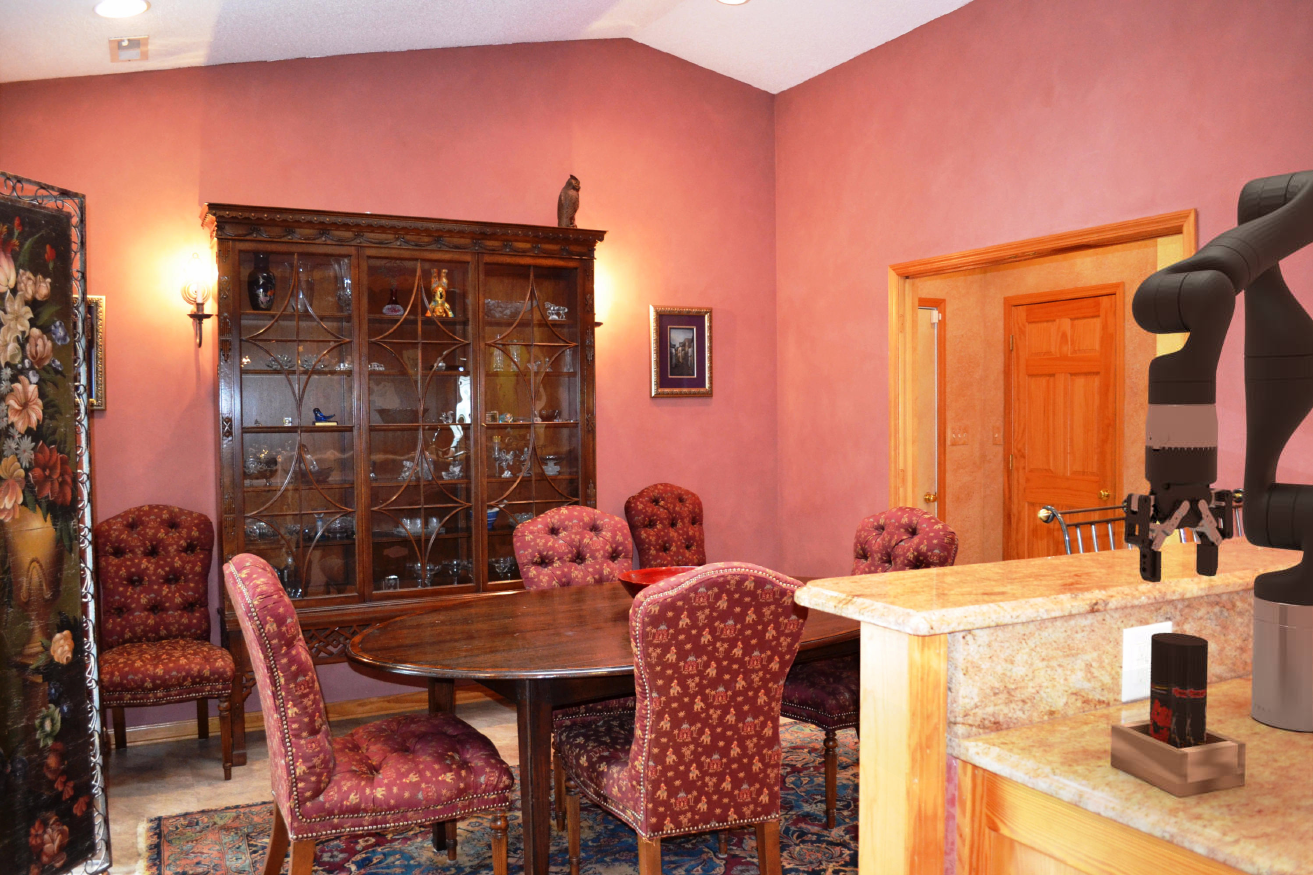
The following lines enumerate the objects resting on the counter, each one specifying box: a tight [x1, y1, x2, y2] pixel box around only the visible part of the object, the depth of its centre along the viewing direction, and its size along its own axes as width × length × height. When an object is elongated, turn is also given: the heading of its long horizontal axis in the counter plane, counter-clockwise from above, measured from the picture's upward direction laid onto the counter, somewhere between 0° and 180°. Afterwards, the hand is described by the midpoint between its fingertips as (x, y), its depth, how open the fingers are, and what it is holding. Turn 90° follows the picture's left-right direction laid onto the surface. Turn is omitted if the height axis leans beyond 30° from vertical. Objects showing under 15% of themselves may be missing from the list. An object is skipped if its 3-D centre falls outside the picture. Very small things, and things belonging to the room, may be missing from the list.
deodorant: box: [1149, 632, 1209, 749], centre depth 113 cm, size 6×6×15 cm
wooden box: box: [1110, 718, 1247, 798], centre depth 113 cm, size 10×10×5 cm
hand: (1178, 578), depth 112 cm, fingers open, 8 cm apart
